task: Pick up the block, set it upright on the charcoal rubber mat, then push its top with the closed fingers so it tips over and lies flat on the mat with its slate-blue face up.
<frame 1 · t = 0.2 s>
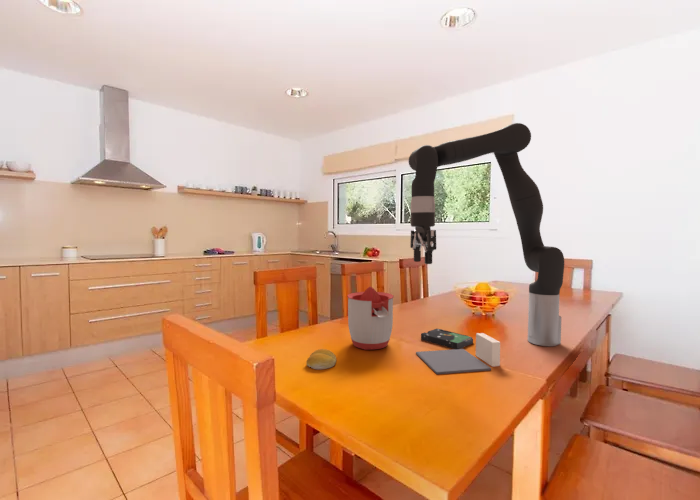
hand: (422, 262, 111), 28 cm above the table, tool pointing down, fingers open, 8 cm apart
citrus juicer: (371, 346, 118), on the table
mat: (451, 361, 103), on the table
block: (487, 360, 104), on the table
bread roll: (321, 365, 102), on the table
disk drive: (446, 343, 122), on the table
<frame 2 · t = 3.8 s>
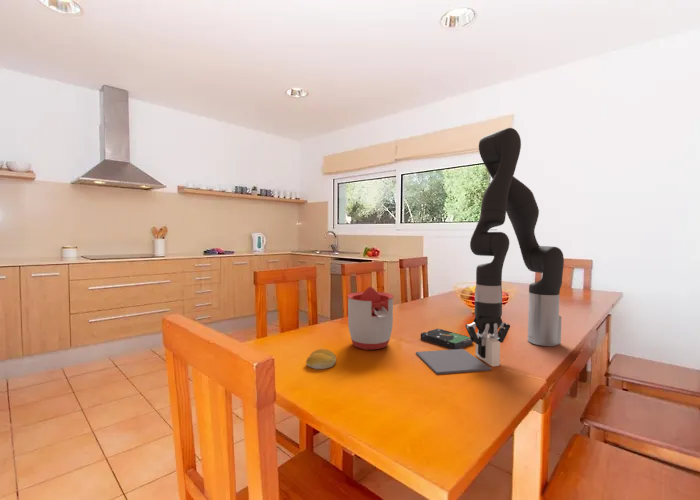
hand: (487, 356, 104), 1 cm above the table, tool pointing down, fingers closed on block, 2 cm apart
block: (486, 360, 104), on the table, touching gripper
everything else where it was.
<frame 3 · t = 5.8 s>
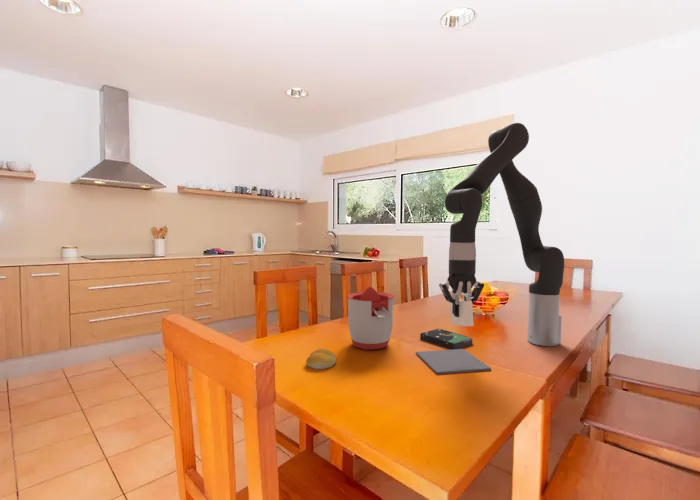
hand: (461, 316, 103), 13 cm above the table, tool pointing down, fingers closed on block, 2 cm apart
block: (462, 324, 103), point 11 cm above the table, tilted 10°, touching gripper
everything else where it was.
when the fingers open (2 cm above the table, at t = 7.9 s): block stays where it is, resting on mat.
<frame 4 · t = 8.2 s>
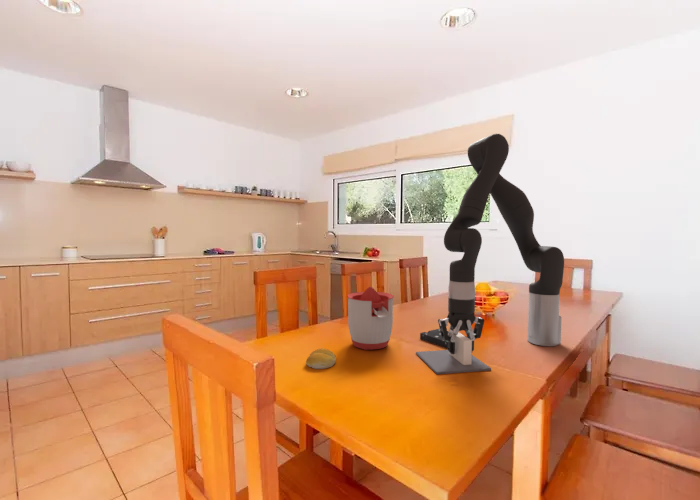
hand: (460, 352, 104), 3 cm above the table, tool pointing down, fingers open, 5 cm apart
block: (459, 359, 104), point 1 cm above the table, touching mat
everything else where it was.
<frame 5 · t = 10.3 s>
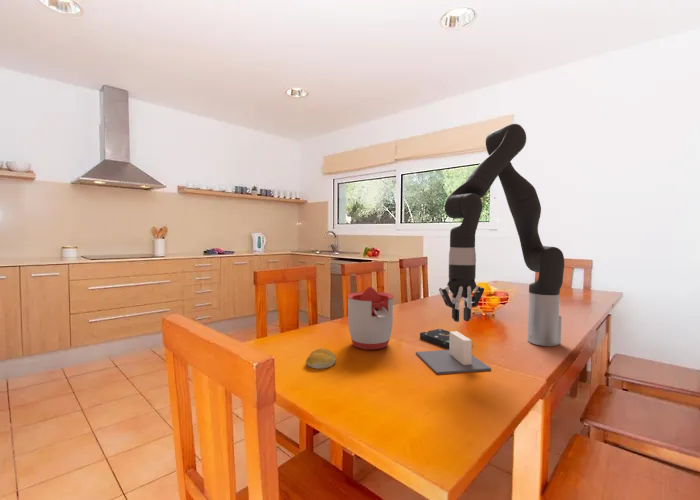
hand: (461, 320, 103), 12 cm above the table, tool pointing down, fingers closed
nothing on the table moved.
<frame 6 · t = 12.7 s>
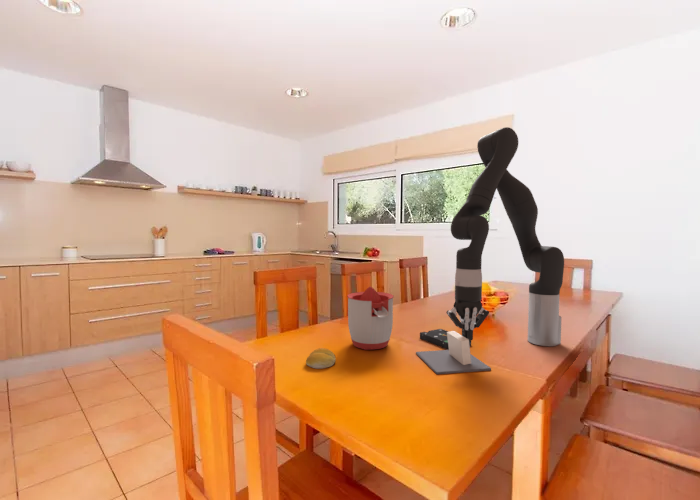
hand: (467, 341, 104), 6 cm above the table, tool pointing down, fingers closed
block: (459, 358, 104), point 1 cm above the table, tilted 8°, touching mat
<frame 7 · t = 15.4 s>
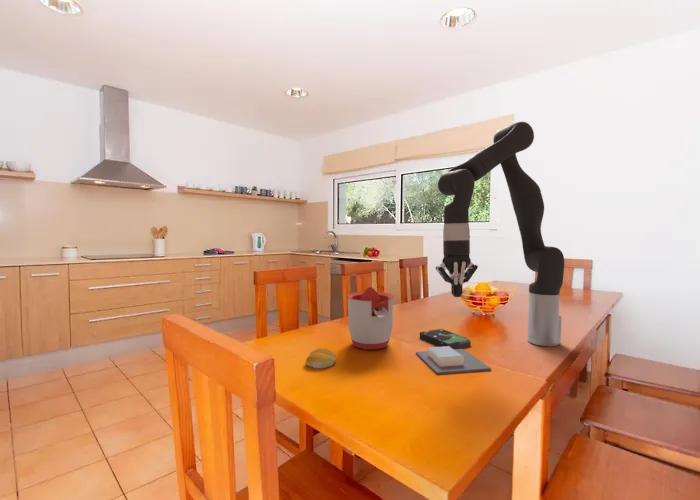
hand: (456, 296, 104), 19 cm above the table, tool pointing down, fingers closed
block: (456, 355, 103), point 2 cm above the table, tilted 90°, touching mat
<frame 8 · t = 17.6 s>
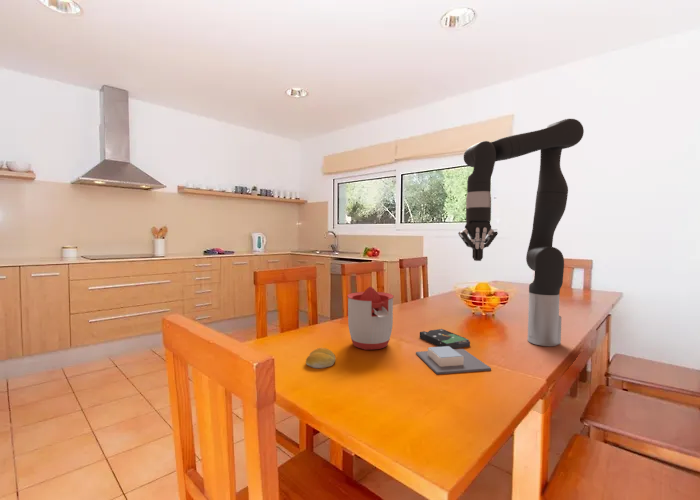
hand: (477, 260, 113), 29 cm above the table, tool pointing down, fingers closed
at the end: block tilted 90°; block inside the target area on the mat (1.5 cm from its centre), point 1.8 cm above the mat's base; the gripper is holding nothing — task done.
